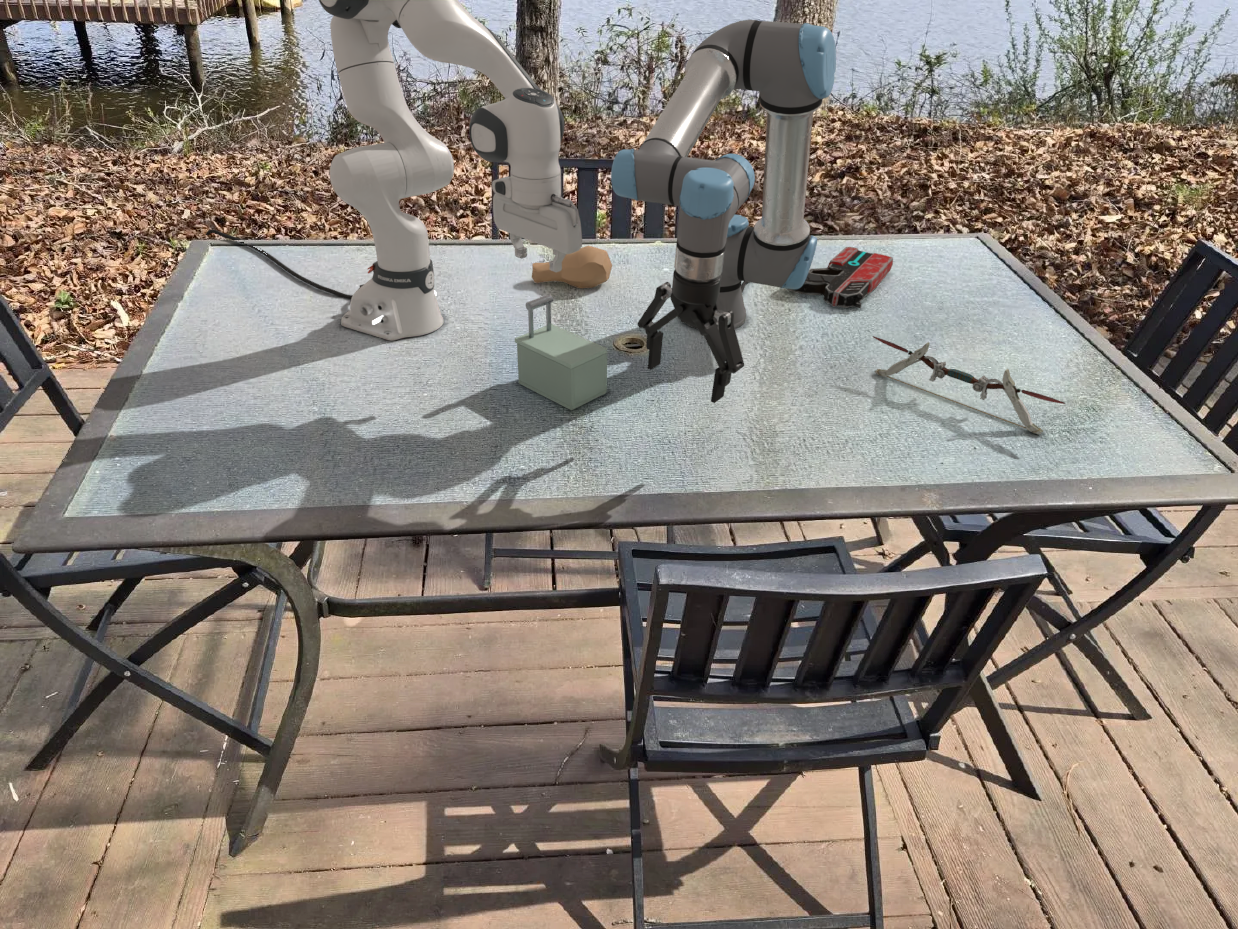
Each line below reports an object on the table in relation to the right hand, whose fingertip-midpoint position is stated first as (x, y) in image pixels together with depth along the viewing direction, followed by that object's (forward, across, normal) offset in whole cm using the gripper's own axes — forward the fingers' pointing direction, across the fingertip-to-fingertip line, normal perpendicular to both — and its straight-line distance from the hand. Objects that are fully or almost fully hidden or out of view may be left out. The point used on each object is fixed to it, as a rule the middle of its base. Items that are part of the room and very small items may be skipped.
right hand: (684, 382), depth 150 cm
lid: (+6, -29, 0) cm, 30 cm away
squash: (+22, -62, +40) cm, 77 cm away
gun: (+22, -13, +86) cm, 90 cm away
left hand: (-8, -36, +2) cm, 37 cm away
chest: (+15, -28, -1) cm, 32 cm away
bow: (+13, +32, +47) cm, 58 cm away
